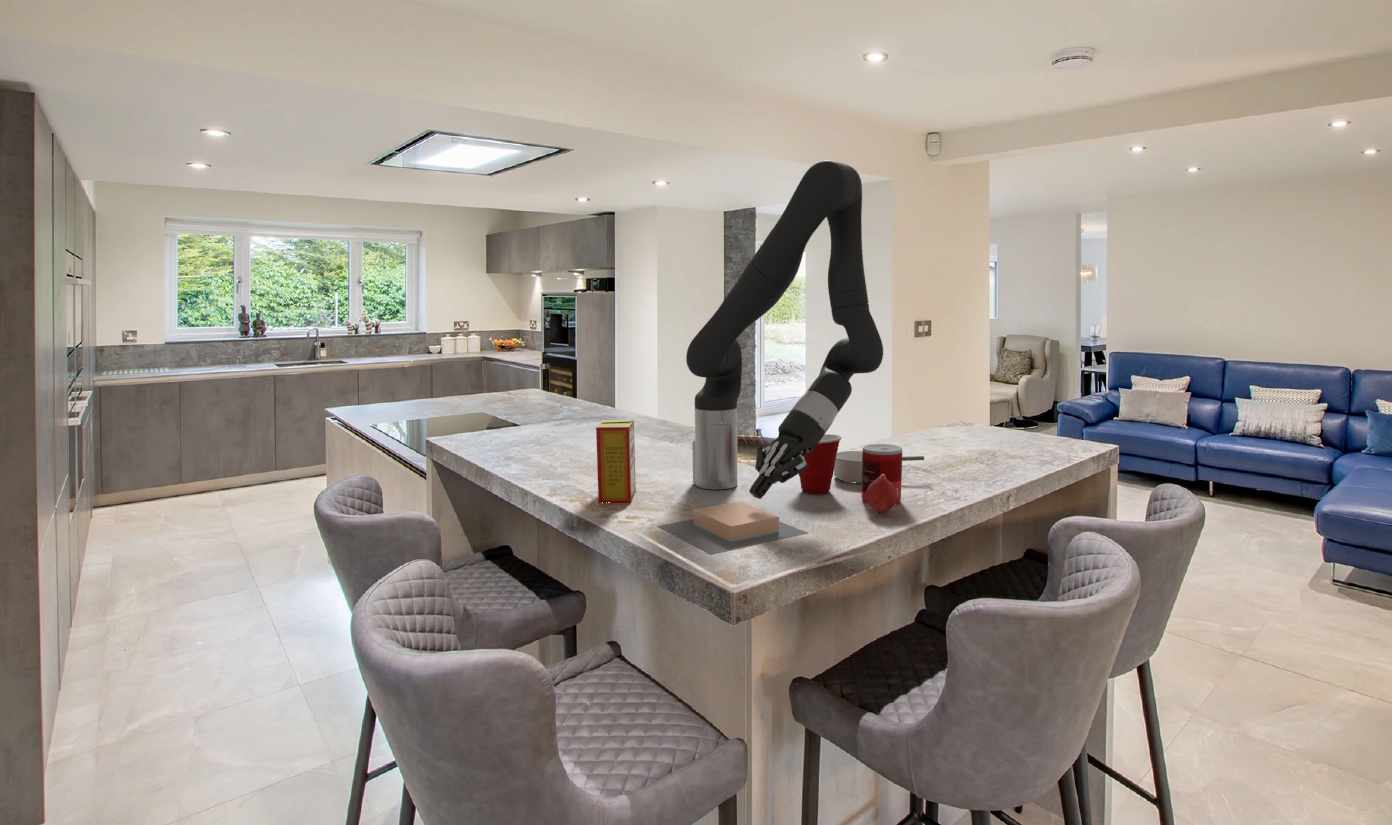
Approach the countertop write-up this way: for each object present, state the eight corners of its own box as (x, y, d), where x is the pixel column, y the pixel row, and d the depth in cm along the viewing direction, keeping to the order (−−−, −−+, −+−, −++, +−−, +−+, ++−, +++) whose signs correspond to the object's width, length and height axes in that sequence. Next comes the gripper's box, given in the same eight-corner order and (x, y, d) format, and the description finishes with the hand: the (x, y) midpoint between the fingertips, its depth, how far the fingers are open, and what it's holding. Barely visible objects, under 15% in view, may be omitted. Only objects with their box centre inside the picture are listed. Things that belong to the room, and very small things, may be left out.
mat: (656, 528, 134) (656, 525, 134) (748, 511, 144) (748, 508, 144) (710, 557, 119) (710, 554, 119) (808, 535, 129) (808, 532, 129)
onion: (858, 514, 141) (859, 473, 140) (877, 509, 145) (878, 468, 144) (884, 521, 137) (885, 478, 136) (903, 515, 140) (904, 473, 139)
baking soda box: (630, 503, 151) (628, 425, 149) (598, 503, 151) (596, 425, 149) (635, 491, 160) (633, 417, 158) (605, 491, 160) (603, 418, 158)
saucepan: (927, 487, 161) (928, 462, 160) (832, 485, 164) (833, 460, 163) (919, 475, 172) (920, 451, 172) (831, 473, 175) (831, 449, 175)
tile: (739, 515, 140) (693, 524, 135) (739, 501, 139) (693, 509, 134) (778, 532, 130) (730, 542, 124) (778, 516, 129) (730, 526, 124)
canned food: (903, 498, 152) (905, 445, 151) (896, 508, 145) (898, 452, 144) (866, 494, 156) (867, 442, 154) (857, 504, 148) (858, 449, 147)
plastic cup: (811, 482, 166) (812, 429, 164) (851, 491, 158) (852, 435, 156) (778, 491, 159) (778, 435, 157) (818, 501, 151) (819, 442, 149)
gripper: (775, 404, 142) (721, 475, 137) (821, 412, 131) (764, 491, 126) (796, 428, 145) (745, 499, 141) (843, 439, 134) (789, 516, 130)
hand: (754, 495), depth 133 cm, fingers closed
